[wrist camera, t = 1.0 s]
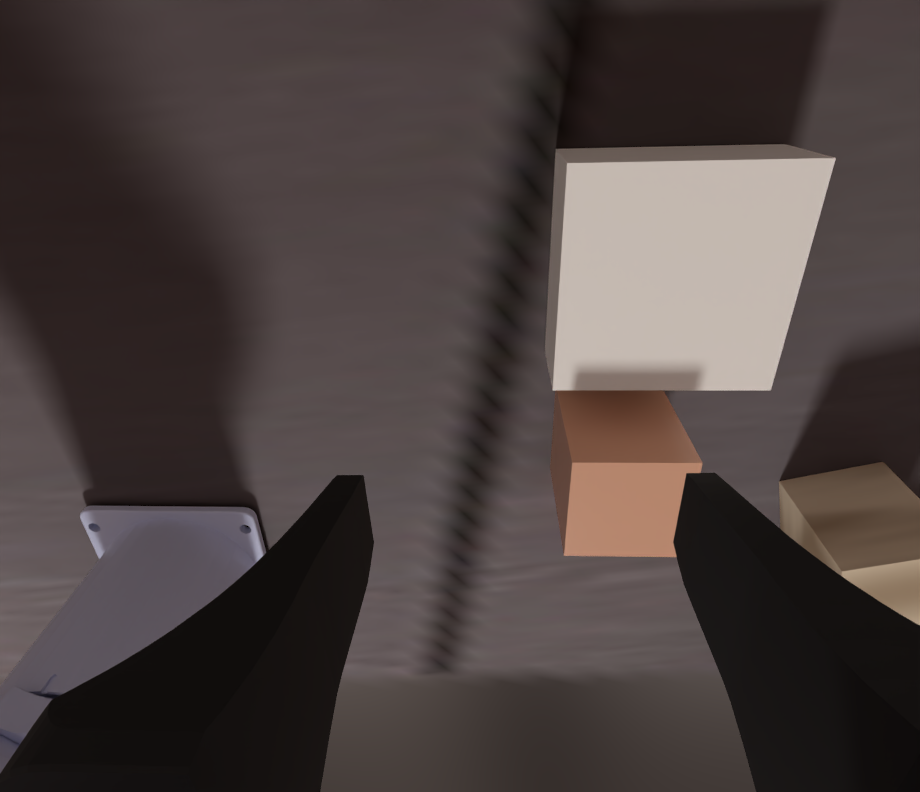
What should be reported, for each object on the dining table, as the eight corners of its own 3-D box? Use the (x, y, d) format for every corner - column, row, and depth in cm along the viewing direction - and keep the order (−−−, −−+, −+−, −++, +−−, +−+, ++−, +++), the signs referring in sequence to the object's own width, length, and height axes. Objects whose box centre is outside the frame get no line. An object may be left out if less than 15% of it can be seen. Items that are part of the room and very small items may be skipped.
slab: (736, 350, 21) (770, 390, 19) (544, 351, 22) (552, 390, 19) (784, 144, 18) (835, 158, 15) (555, 148, 18) (567, 163, 16)
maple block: (876, 532, 25) (956, 629, 21) (780, 548, 26) (838, 645, 22) (882, 461, 24) (971, 550, 19) (778, 480, 24) (841, 571, 20)
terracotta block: (646, 468, 24) (681, 556, 20) (550, 468, 24) (563, 555, 20) (660, 385, 22) (702, 462, 18) (555, 385, 22) (571, 462, 18)
